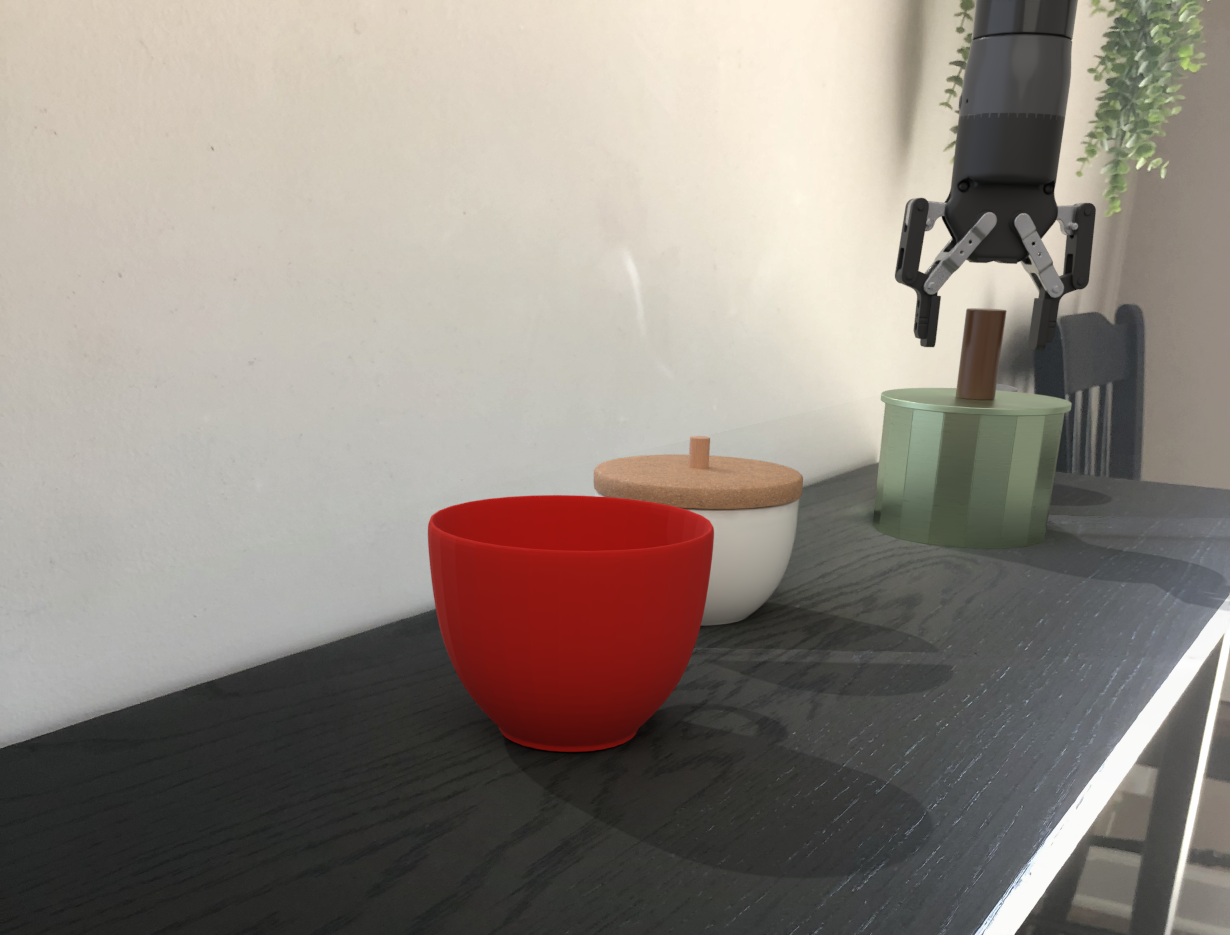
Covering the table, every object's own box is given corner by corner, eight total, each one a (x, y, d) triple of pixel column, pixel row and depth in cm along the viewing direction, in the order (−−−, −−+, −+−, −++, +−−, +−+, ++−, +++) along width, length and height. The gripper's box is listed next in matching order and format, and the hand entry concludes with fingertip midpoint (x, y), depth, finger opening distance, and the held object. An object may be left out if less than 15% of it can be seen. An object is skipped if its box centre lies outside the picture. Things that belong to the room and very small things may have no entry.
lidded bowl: (799, 650, 78) (816, 456, 73) (584, 641, 78) (588, 448, 74) (783, 597, 89) (797, 426, 85) (596, 590, 90) (600, 420, 85)
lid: (1035, 403, 112) (1049, 307, 109) (1097, 426, 99) (1115, 317, 96) (863, 399, 112) (872, 302, 109) (902, 421, 98) (914, 311, 95)
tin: (1014, 522, 116) (1032, 396, 111) (1066, 557, 103) (1089, 417, 99) (858, 519, 115) (871, 392, 111) (892, 553, 103) (908, 412, 99)
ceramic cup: (736, 679, 72) (748, 492, 68) (672, 793, 57) (683, 562, 53) (509, 656, 75) (508, 475, 71) (390, 759, 60) (380, 537, 56)
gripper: (927, 105, 93) (901, 350, 100) (1128, 111, 94) (1089, 354, 100) (903, 114, 100) (880, 342, 107) (1090, 119, 100) (1056, 346, 107)
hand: (981, 348), depth 103 cm, fingers open, 8 cm apart
